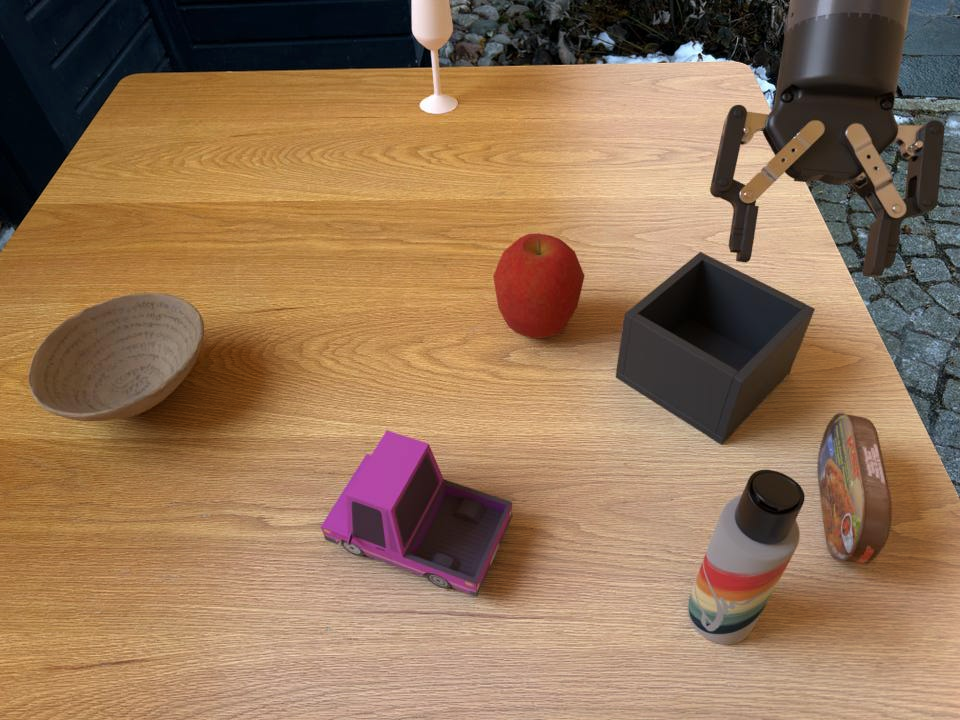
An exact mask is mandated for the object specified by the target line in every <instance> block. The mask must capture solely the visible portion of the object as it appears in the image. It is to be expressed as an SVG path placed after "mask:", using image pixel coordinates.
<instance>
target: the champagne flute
mask: <svg viewBox="0 0 960 720" xmlns="http://www.w3.org/2000/svg"><path fill="white" fill-rule="evenodd" d="M450 4H451V3H450V0H411V32H412V35H413V36H414V39H416V41H417V42H418V43H419V44H421V46H423V47H424V48H425V49H427V50H429V51H430V57H431V69H432V80H433V81H432V82H433V92H434V93H432V94H431V95H429V96H427V97H425V98H424V99H422V100H421V102H420V103H419V108H420V109H421V110H422V111H423V112H425V113H428V114H432V115H433V114H434V115H435V114H436V115H440V114H447V113H449V112H452V111H453V110H455V109H456V108H457V107H458V100H457V99H456V98H455V97H453V96H451V95H448V94H445V93H442V85H441V73H440V61H439V60H440V59H439V50H440V49H442V48H443V47H444V45H446V43H447V42H448V41H449V40H450V38H451V37H452V34H453V32H454V23H453V18H452V17H453V16H452V11H451V5H450Z"/></svg>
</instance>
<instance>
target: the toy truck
mask: <svg viewBox="0 0 960 720" xmlns="http://www.w3.org/2000/svg"><path fill="white" fill-rule="evenodd" d="M512 518H513V501H510V500H508V499H504V498H501V497H498V496H495V495H493V494H489V493H486V492H483V491H480V490H477V489H475V488H472V487H468V486H466V485H462V484H459V483H456V482H453V481H450V480H447V479H444V476H443V474H442V472H441V468H440V466H439V465H438V462H437V459H436V458H435V455H434V453H433V450H432V448H431V446H430V443H428V442H425V441H421V440H419V439H415V438H412V437H410V436H406V435H403V434H400V433H397V432H394V431H391V430H386V431H385V433H383V435H382V436H381V438H380V440H379V442H378V443H377V445H376V447H375V449H374V450H373V451H372V453H371V454H369V453H366V454H365V455H364V456H363V458H362V460H361V462H360V463H359V465H358V466H357V468H356V470H355V471H354V473H353V474H352V476H351V478H350V479H349V480H348V483H347V484H346V486H345V488H344V489H343V490H342V492H341V494H340V495H339V497H338V498H337V500H336V502H335V503H334V504H333V506H332V508H331V509H330V510H329V513H328V514H327V516H326V518H325V519H324V520H323V522H322V524H321V525H320V529H321V531H322V534H323V537H324V540H325V541H327V542H329V543H333V544H335V545H339V543H340V545H341V546H342V548H343V549H344V550H345V551H347V552H348V553H350V554H352V555H354V556H358V557H362V556H366V557H369V558H372V559H375V560H378V561H380V562H383V563H385V564H388V565H391V566H394V567H396V568H399V569H401V570H404V571H406V572H409V573H411V574H415V575H416V576H420V577H424V574H425V577H426V579H427V580H428V581H429V582H430V583H432V584H433V585H435V586H436V587H438V588H442V589H450V588H453V589H455V590H458V591H460V592H462V593H465V594H468V595H469V596H473V597H476V598H478V595H479V594H480V591H481V588H482V586H483V584H484V581H485V579H486V577H487V576H488V573H489V571H490V568H491V566H492V563H493V562H494V559H495V556H496V554H497V553H498V550H499V548H500V545H501V544H502V541H503V538H504V536H505V534H506V533H507V532H506V531H507V529H508V527H509V525H510V522H511V520H512Z"/></svg>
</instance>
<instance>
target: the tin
mask: <svg viewBox="0 0 960 720" xmlns="http://www.w3.org/2000/svg"><path fill="white" fill-rule="evenodd" d="M827 423H828V424H826V427H825V429H824V432H823V436H822V438H821V442H820V445H819V449H818V455H817V481H818V488H819V489H818V490H819V496H820V503H821V504H820V505H821V512H822V521H823V528H824V536H825V543H826V546H827V550H828V552H829V554H830V556H831V557H832V559H834V560H835V561H837V562H846V563H853V564H856V565H857V564H858V565H869V564H871V563H872V562H873V561H874V560H875V559H876V558H877V557H878V555H879V554H880V552H881V551H882V550H883V548H884V547H885V545H886V544H887V541H888V538H889V534H890V530H891V525H892V513H893V512H892V511H893V510H892V509H893V507H892V498H891V493H890V492H891V491H890V487H889V482H888V477H887V471H886V467H885V463H884V457H883V453H882V448H881V445H880V438H879V434H878V431H877V429H876V428H877V427H876V426H875V424H874V423H873V422H872V421H871V420H870V419H868V418H865V417H862V416H857V415H853V414H852V415H851V414H846V413H845V412H838V413H835V414H834V415H833V416H832V417H831V419H830V420H829V421H828V422H827Z"/></svg>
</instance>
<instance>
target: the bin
mask: <svg viewBox="0 0 960 720" xmlns="http://www.w3.org/2000/svg"><path fill="white" fill-rule="evenodd" d="M815 310H816V308H814V307H813V306H811V305H809V304H807V303H805V302H803V301H801V300H799V299H797V298H795V297H793V296H790V295H788V294H786V293H784V292H782V291H781V290H779V289H776V288H774V287H773V286H771V285H768V284H767V283H764V282H762V281H760V280H759V279H756V278H755V277H753V276H750V275H749V274H747V273H744V272H742V271H740V270H738V269H736V268H734V267H732V266H730V265H728V264H726V263H723V262H722V261H720V260H718V259H716V258H714V257H712V256H710V255H707V254H706V253H705V252H701V251H699V252H698V253H697V254H696V255H695V256H693V257H692V258H691V259H690V260H688V261H687V262H686V263H684V265H682V266H680V268H679V269H678V270H677V269H676V271H674V273H673V274H671V275H670V276H669V277H668V278H666V279H665V280H664V281H662V282H661V283H660V284H659V285H658V286H657V287H655V288H654V289H652V291H650V292H649V293H648V294H647V295H646V296H644V297H643V298H642V299H640V300H639V301H638V302H637V303H636V304H635V305H633V306H632V307H630V309H629V310H627V311H626V312H625V313H624V315H623V321H622V327H621V328H622V329H621V334H620V335H621V336H620V342H619V347H618V354H617V355H618V356H617V363H616V370H615V378H616V379H617V380H619V381H620V382H622V383H623V384H625V385H626V386H628V387H630V388H631V389H633V390H634V391H636V392H638V393H639V394H641V395H642V396H644V397H645V398H647V399H649V400H650V401H652V402H654V403H655V404H656V405H658V406H659V407H661V408H663V409H664V410H666V411H667V412H669V413H671V414H672V415H674V416H675V417H677V418H678V419H680V420H682V421H683V422H685V423H686V424H688V425H689V426H691V427H692V428H694V429H695V430H698V431H699V432H701V433H702V434H703V435H705V436H707V437H708V438H710V439H712V440H713V441H715V442H716V443H718V444H720V445H723V444H725V442H726V441H727V440H728V439H729V438H730V437H731V436H732V434H734V432H736V431H737V430H738V429H739V428H740V426H741V425H742V424H743V423H744V422H745V421H747V419H748V418H749V417H750V416H751V415H752V414H753V413H754V412H755V410H757V408H758V407H759V406H760V405H761V404H762V403H763V402H764V401H765V400H766V399H767V398H768V397H769V396H770V395H771V394H772V392H773V391H774V390H775V389H776V388H777V387H778V386H779V385H781V383H782V382H783V381H784V380H785V379H786V378H787V377H788V376H789V375H790V373H791V371H792V368H793V366H794V363H795V361H796V358H797V356H798V353H799V351H800V349H801V346H802V343H803V341H804V338H805V336H806V333H807V330H808V328H809V326H810V323H811V320H812V318H813V315H814V313H815Z"/></svg>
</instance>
